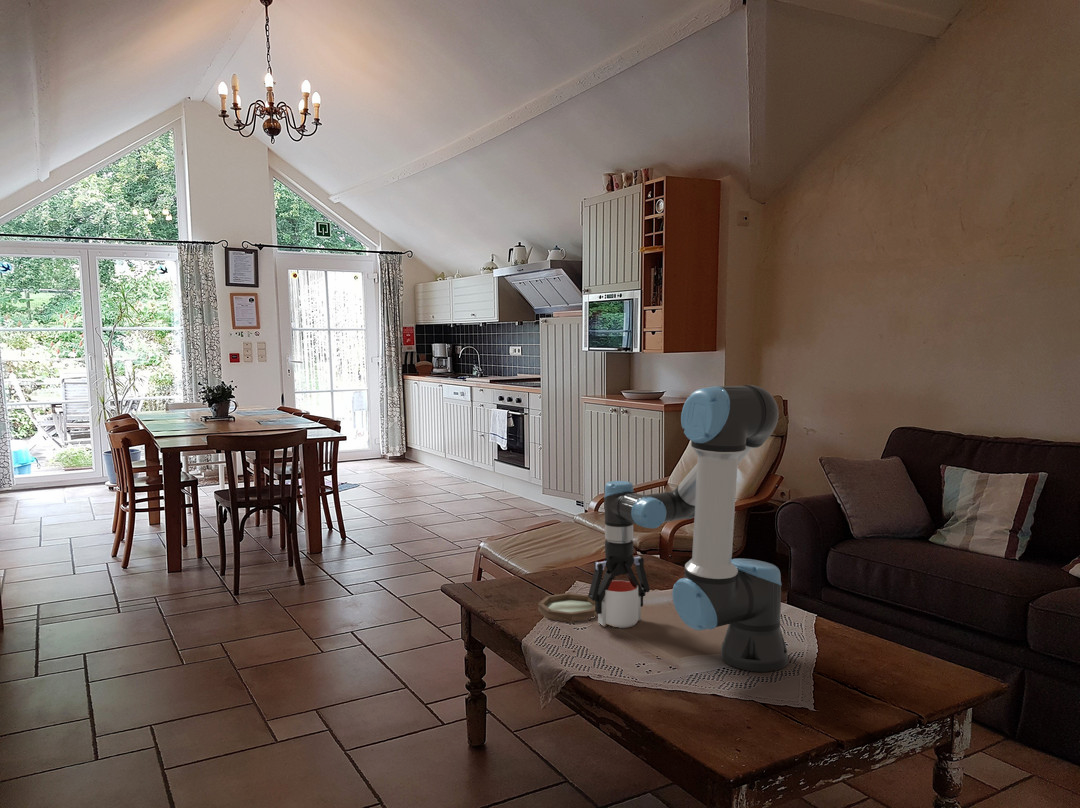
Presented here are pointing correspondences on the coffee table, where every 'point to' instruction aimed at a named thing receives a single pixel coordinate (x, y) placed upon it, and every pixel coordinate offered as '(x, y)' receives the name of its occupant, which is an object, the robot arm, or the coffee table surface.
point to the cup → (621, 604)
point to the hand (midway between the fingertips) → (619, 621)
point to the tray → (567, 607)
